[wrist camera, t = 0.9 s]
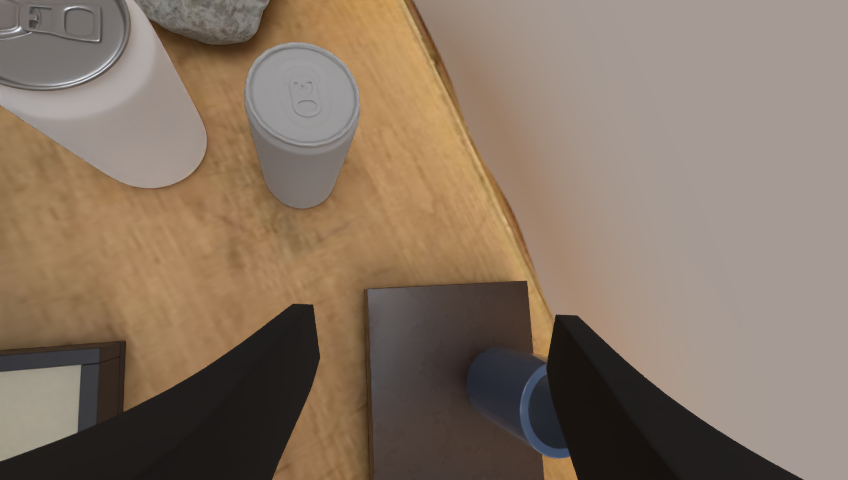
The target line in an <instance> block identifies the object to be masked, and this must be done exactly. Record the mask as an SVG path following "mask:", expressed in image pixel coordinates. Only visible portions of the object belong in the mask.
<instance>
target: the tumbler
mask: <svg viewBox="0 0 848 480" xmlns="http://www.w3.org/2000/svg"><path fill="white" fill-rule="evenodd" d="M547 360H548V357H546V356H542V355H538V354H533V353H529V352H525V351H520V350H516V349H512V348H507V347H502V346H496V347H491V348H488V349H486V350H484V351H483V352H481V353H480V354H479V355H478V356H477V357H476V358H475V359H474V361H473V362H472V364H471V366H470V368H469V371H468V374H467V379H466V390H467V395H468V399H469V401H470V403H471V405H472V407H473V408H474V410H475V411H476V412H477V413H478V414H479V415H481V416H482V417H484V418H485V419H487V420H488V421H490V422H492V423H493V424H495V425H496V426H498V427H499V428H501V429H503V430H504V431H506V432H507V433H509V434H511V435H512V436H514V437H515V438H517V439H518V440H520V441H522V442H523V443H525V444H526V445H528V446H529V447H531V448H533V449H534V450H536V451H537V452H539V453H541V454H542V455H544V456H547V457H550V458H558V459H560V458H566V457H570V454H569V451H568V448H567V445H566V442H565V439H564V436H563V433H562V430H561V427H560V424H559V421H558V418H557V414H556V411H555V408H554V405H553V402H552V397H551V393H550V388H549V382H548V377H547V371H546V366H547Z"/></svg>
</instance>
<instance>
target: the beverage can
mask: <svg viewBox="0 0 848 480" xmlns="http://www.w3.org/2000/svg"><path fill="white" fill-rule="evenodd" d="M244 98H245V109H246V113H247V117H248V121H249V125H250V128H251V132H252V136H253V139H254V143H255V147H256V150H257V154H258V158H259V162H260V165H261V169H262V173H263V177H264V180H265V182H266V185H267V187H268V188H269V190H270V191H271V193H272V194H273V195H274V196H275V197H276V198H277V199H278V200H279V201H280V202H282V203H284V204H285V205H287V206H290V207H294V208H311V207H314V206H317V205H319V204H320V203H322V202H324V201H325V200H326V198H327V197H328V196H329V195H330V194H331V192H332V190H333V188H334V186H335V183H336V180H337V178H338V175H339V173H340V170H341V168H342V166H343V163H344V161H345V158H346V156H347V153H348V150H349V147H350V145H351V142H352V139H353V136H354V133H355V131H356V128H357V125H358V120H359V115H360V99H359V89H358V87H357V84H356V81H355V78H354V76H353V75H352V73H351V72H350V70H349V69H348V67H347V66H346V65H345V64H344V63H343V62H342V61H341V60H340V59H339V58H338V57H337V56H335V55H334V54H332V53H330V52H329V51H327V50H326V49H324V48H321V47H318V46H315V45H312V44H309V43H299V42H291V43H284V44H279V45H277V46H275V47H272V48H270V49H267V50H266V51H265V52H264V53H262V54H261V55H260V56H259V57H258V58H256V60H255V62H254V63H253V65H252V66H251V68H250V69H249V72H248V76H247V79H246V86H245V90H244Z"/></svg>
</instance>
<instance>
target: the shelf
mask: <svg viewBox="0 0 848 480" xmlns="http://www.w3.org/2000/svg"><path fill="white" fill-rule="evenodd" d="M364 307H365V337H366V366H367V395H368V424H369V453H370V480H544V472H543V460H542V454H541V453H539V452H537V451H536V450H534V449H533V448H531V447H529V446H528V445H526V444H525V443H523V442H522V441H520V440H518V439H517V438H515V437H514V436H512V435H511V434H509V433H507V432H506V431H504V430H503V429H501V428H499V427H498V426H496V425H495V424H493V423H492V422H490V421H488V420H487V419H485V418H484V417H482V416H481V415H479V414H478V413H477V412H476V411H475V410H474V408H473V407H472V405H471V403H470V401H469V399H468V395H467V390H466V379H467V374H468V371H469V368H470V366H471V364H472V362H473V361H474V359H475V358H476V357H477V356H478V355H479V354H480V353H481V352H483V351H484V350H486V349H488V348H491V347H496V346H502V347H507V348H512V349H516V350H520V351H525V352H529V353H533V344H532V333H531V321H530V310H529V298H528V286H527V281H513V282H493V283H473V284H453V285H433V286H413V287H393V288H373V289H364Z"/></svg>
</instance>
